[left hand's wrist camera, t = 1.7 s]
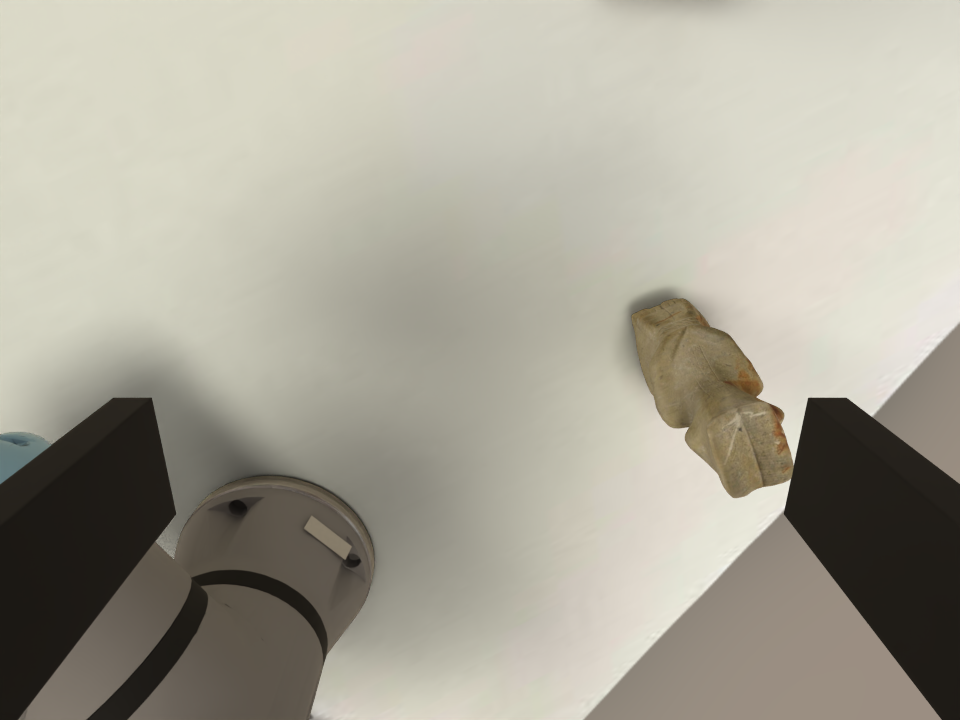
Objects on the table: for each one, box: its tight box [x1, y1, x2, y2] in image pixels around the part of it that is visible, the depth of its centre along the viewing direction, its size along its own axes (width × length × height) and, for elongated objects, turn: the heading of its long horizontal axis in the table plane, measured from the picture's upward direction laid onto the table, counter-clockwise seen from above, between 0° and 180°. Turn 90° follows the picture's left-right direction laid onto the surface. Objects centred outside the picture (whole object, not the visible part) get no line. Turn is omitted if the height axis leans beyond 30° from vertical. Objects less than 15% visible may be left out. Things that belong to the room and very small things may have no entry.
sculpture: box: [631, 298, 794, 498], centre depth 37 cm, size 6×7×15 cm
